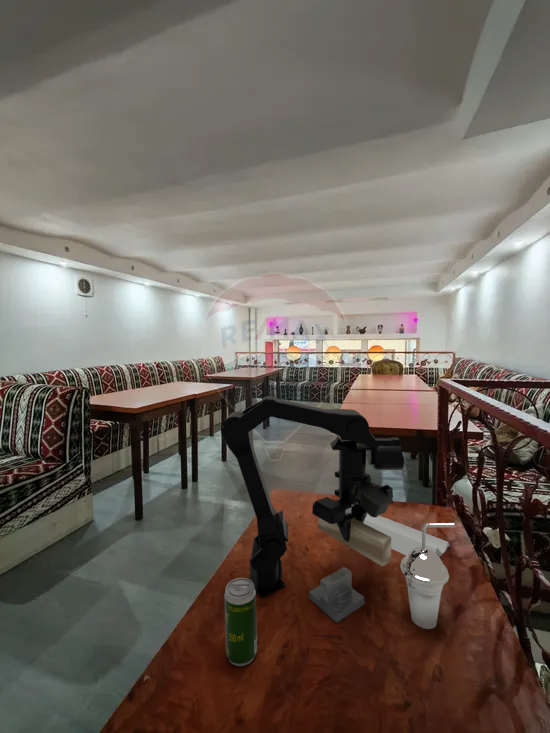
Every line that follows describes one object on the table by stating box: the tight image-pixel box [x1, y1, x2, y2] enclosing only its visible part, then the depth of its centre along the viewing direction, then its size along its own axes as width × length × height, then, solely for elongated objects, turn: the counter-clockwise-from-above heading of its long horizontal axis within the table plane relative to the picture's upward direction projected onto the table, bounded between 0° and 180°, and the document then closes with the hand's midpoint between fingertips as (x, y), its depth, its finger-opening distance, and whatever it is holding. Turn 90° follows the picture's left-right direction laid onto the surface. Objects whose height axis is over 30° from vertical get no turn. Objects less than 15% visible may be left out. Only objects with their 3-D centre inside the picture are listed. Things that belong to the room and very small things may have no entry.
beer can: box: [223, 577, 258, 667], centre depth 60 cm, size 5×5×12 cm
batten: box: [317, 517, 392, 567], centre depth 76 cm, size 3×18×5 cm, turn 37°
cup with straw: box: [400, 522, 456, 630], centre depth 66 cm, size 8×9×20 cm
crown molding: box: [364, 513, 451, 557], centre depth 98 cm, size 31×12×4 cm, turn 43°
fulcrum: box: [308, 566, 365, 624], centre depth 72 cm, size 8×8×6 cm
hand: (351, 538), depth 76 cm, fingers closed on batten, 3 cm apart
